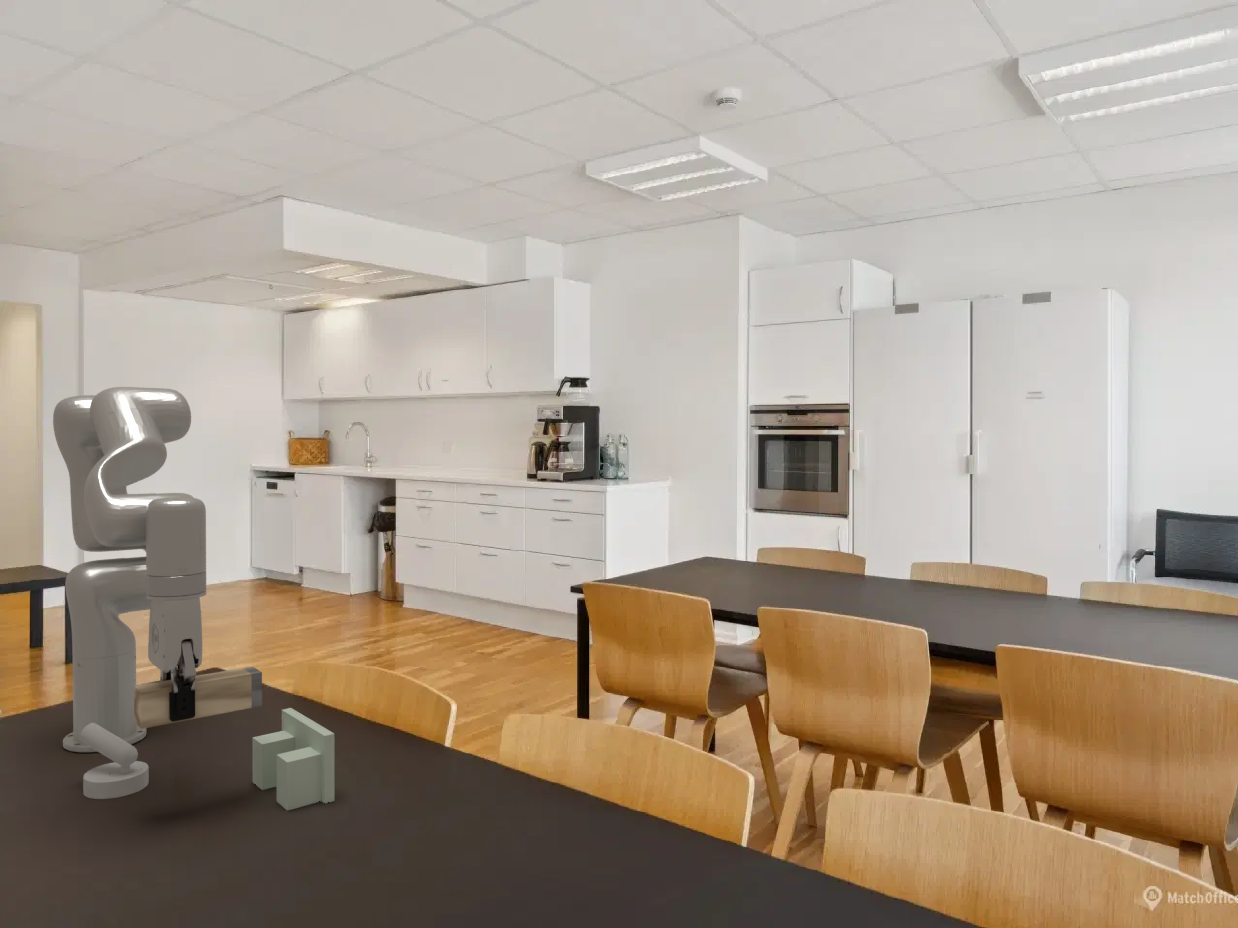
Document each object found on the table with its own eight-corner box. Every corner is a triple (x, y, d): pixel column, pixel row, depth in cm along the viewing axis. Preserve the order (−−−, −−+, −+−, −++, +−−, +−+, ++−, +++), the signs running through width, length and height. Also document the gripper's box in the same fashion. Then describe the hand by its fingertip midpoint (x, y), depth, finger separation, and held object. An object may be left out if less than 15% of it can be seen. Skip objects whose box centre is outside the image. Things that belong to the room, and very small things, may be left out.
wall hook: (105, 713, 138) (160, 718, 136) (106, 773, 138) (161, 779, 136) (60, 731, 130) (118, 737, 128) (61, 795, 130) (119, 801, 128)
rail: (134, 721, 122) (133, 685, 121) (252, 699, 132) (252, 666, 132) (141, 728, 119) (140, 692, 118) (262, 705, 129) (261, 672, 129)
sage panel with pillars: (249, 779, 136) (249, 716, 136) (291, 769, 141) (290, 707, 140) (290, 813, 124) (290, 743, 124) (334, 800, 129) (334, 733, 128)
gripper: (132, 580, 127) (133, 705, 127) (163, 597, 114) (164, 736, 115) (188, 575, 132) (189, 696, 132) (223, 591, 119) (224, 724, 119)
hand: (177, 713), depth 123 cm, fingers closed on rail, 4 cm apart
